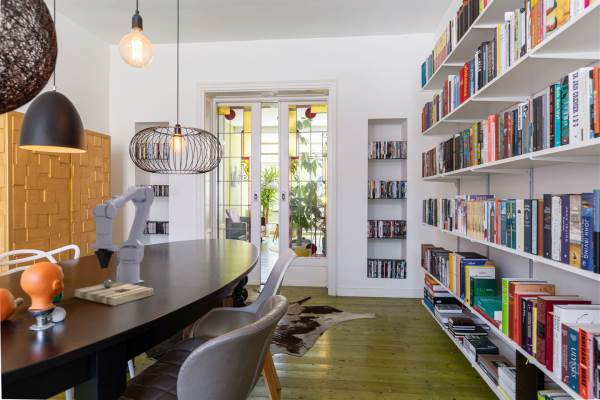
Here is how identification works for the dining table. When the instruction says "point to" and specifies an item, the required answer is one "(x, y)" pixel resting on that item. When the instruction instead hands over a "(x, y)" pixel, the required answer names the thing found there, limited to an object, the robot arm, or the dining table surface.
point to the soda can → (58, 297)
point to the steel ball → (107, 283)
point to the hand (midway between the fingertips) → (104, 268)
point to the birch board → (114, 293)
